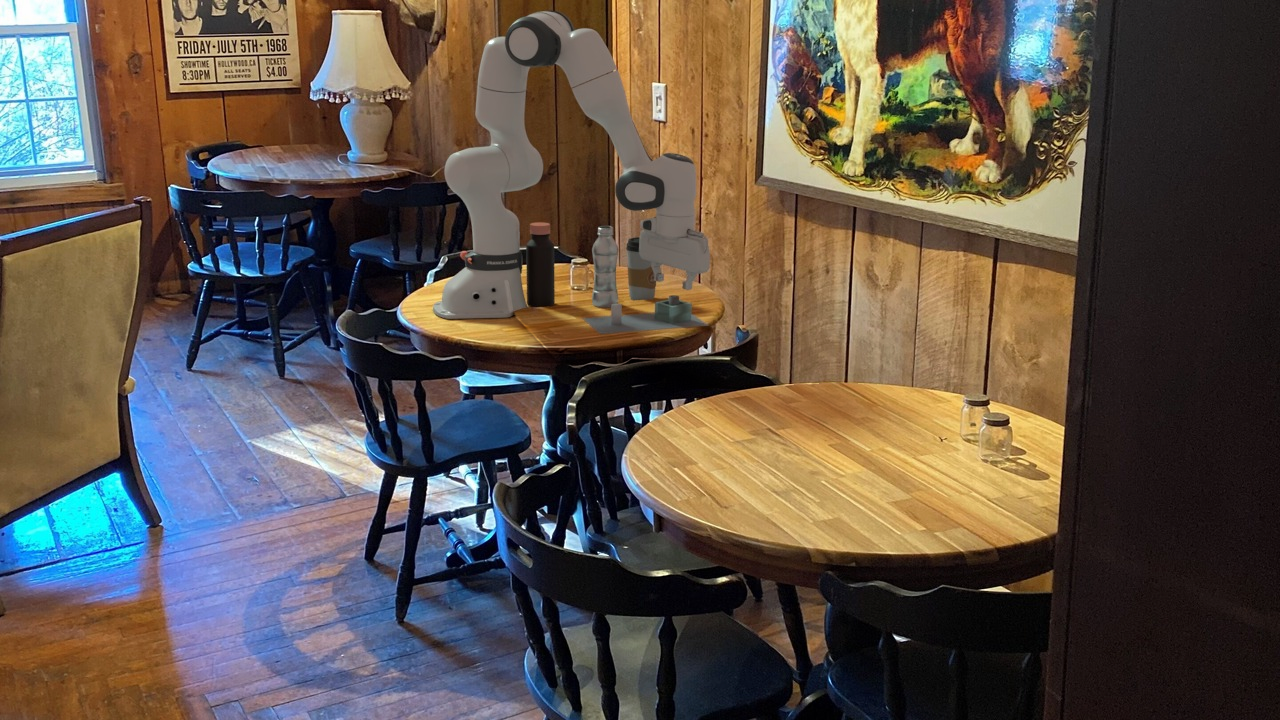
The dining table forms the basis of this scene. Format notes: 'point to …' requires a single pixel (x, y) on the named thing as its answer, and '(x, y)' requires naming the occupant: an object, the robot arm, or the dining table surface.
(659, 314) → the collar
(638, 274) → the coffee cup
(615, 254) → the plastic bottle
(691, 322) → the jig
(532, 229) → the vinegar
